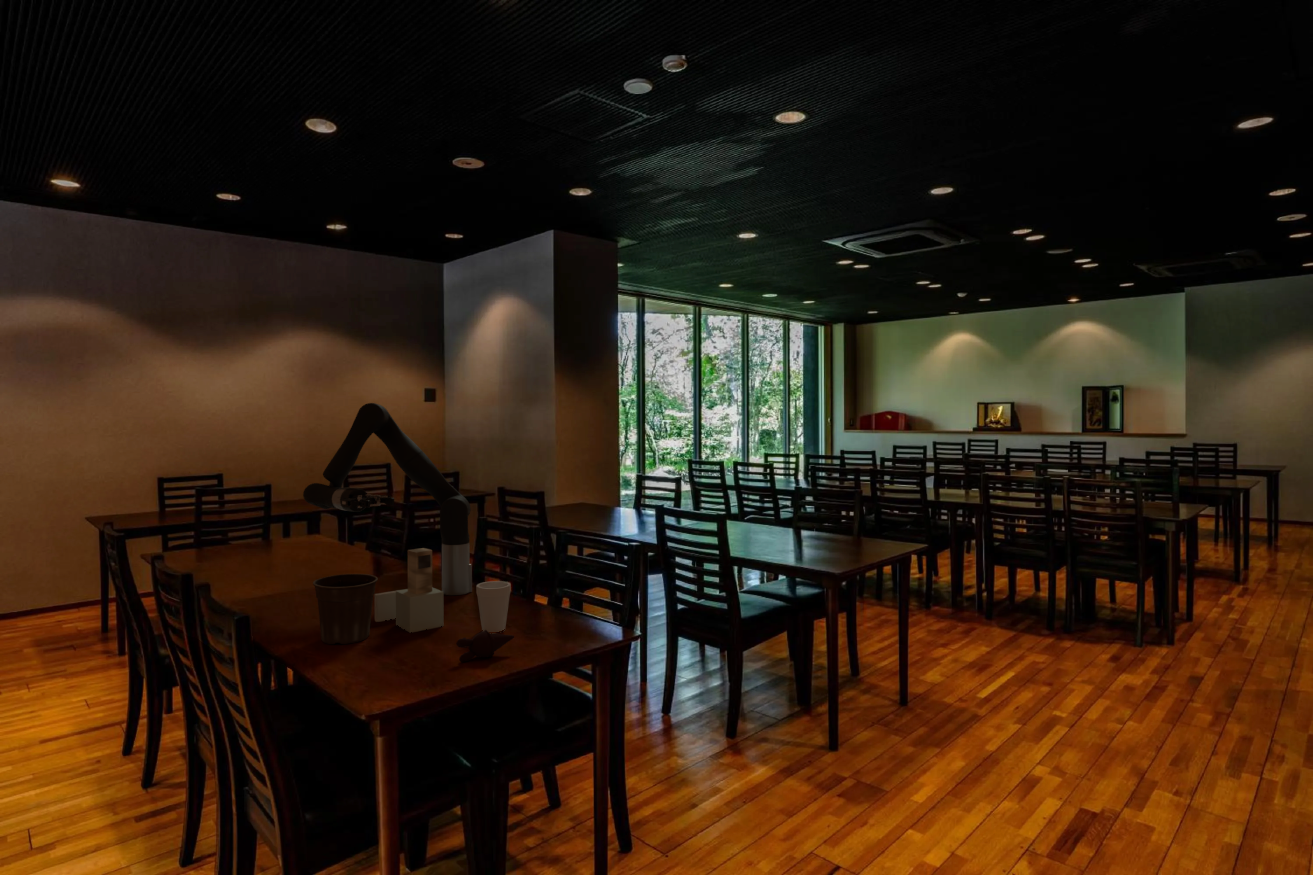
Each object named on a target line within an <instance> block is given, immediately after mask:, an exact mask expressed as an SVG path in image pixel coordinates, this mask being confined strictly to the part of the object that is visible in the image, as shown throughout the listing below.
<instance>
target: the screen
mask: <svg viewBox="0 0 1313 875" xmlns="http://www.w3.org/2000/svg"><path fill="white" fill-rule="evenodd" d="M405 589H406V588H405ZM405 589H402V590H405ZM399 590H400V589H397V590H392V591H385V592H379V593H374V622H376V623H379V622H380V623H381V622H385V620H387V621H391V620H390V619H392V620H396V619H395V618H396V591H399Z"/></svg>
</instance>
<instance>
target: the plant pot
mask: <svg viewBox="0 0 1313 875" xmlns="http://www.w3.org/2000/svg"><path fill="white" fill-rule="evenodd" d="M377 582H378V577H377V576H376V575H372V574H368V573H342V574H334V575H328V576H325V577H320V578H318V579H317V578H316V579H315V580H314V581H313V582H312V585H313V586H314V589H315V598H316V599H317V606H318V615H319V616H318V618H319V627H320V628H319V629H320V631H319V632H320V640H321V641H322V643H324V644H327V645H335V644H337V643H338V644H340V645H347V644H355V642H356V643H358V642H361V641H364V640H366V639H368V637H369V636H370V632H371V621H372V613H373V612H372V610H373V602H374V600H373V599H374V595H375V594H376V583H377Z"/></svg>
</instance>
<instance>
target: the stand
mask: <svg viewBox="0 0 1313 875" xmlns="http://www.w3.org/2000/svg"><path fill="white" fill-rule="evenodd" d="M398 590H399V591H397V590H395V591H396V619H395V626H397V625H398V626H399V628H400V627H401V628H400V629H402V630H404V629H405V630H404V631H406V632H408V633H409V634H411V632H412V633H417V632H421V631H425V630H426V629H427V630H432V629H437V628H442V627H444V626H445V625H444V620H445V619H444V617H445V616H444V608H445V607H444V600H445V599H444V595H445V594H444V592H443V591H442V590H440V589H438V588H435V587H433V586H432V591H431V592H425V593H420V594H414V593H411V592H409V591H408V588H405V590H403V589H398ZM398 626H397V627H398ZM441 626H442V627H441Z"/></svg>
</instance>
